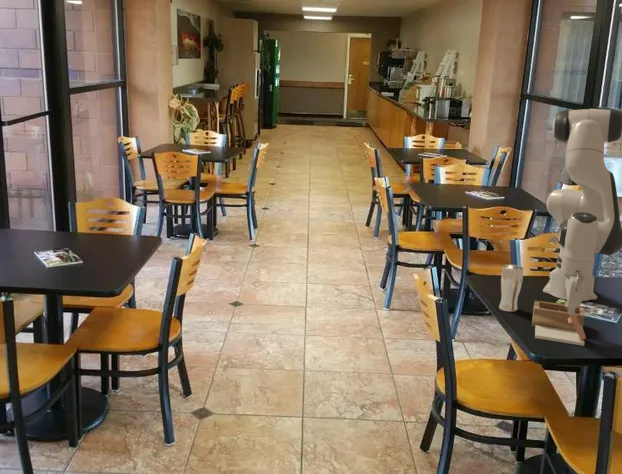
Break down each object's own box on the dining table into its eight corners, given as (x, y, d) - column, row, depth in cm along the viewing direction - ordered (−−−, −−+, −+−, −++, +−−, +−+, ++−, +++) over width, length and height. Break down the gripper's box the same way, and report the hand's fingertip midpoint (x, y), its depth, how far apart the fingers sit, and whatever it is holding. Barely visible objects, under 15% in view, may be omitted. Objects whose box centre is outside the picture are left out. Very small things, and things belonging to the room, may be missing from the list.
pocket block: (532, 317, 218) (534, 300, 216) (580, 324, 213) (582, 307, 212) (531, 326, 209) (534, 308, 208) (581, 334, 205) (584, 316, 203)
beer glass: (500, 303, 229) (505, 263, 226) (520, 308, 226) (526, 266, 222) (495, 309, 223) (500, 267, 220) (515, 313, 220) (521, 271, 217)
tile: (561, 304, 202) (569, 301, 201) (576, 335, 202) (584, 333, 201) (561, 308, 197) (570, 305, 196) (577, 341, 198) (585, 338, 197)
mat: (535, 328, 208) (535, 325, 208) (582, 335, 204) (582, 332, 204) (535, 338, 200) (535, 335, 200) (584, 345, 196) (584, 342, 195)
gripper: (590, 277, 185) (583, 323, 188) (585, 260, 204) (579, 302, 207) (567, 274, 187) (560, 320, 190) (564, 257, 206) (558, 299, 209)
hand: (570, 310), depth 199 cm, fingers closed on tile, 5 cm apart
